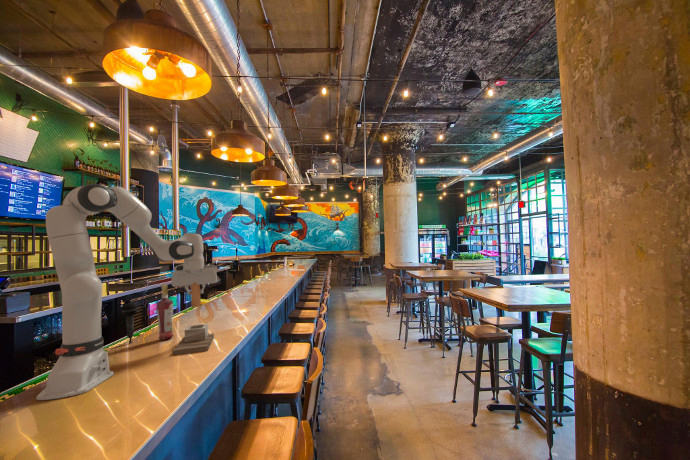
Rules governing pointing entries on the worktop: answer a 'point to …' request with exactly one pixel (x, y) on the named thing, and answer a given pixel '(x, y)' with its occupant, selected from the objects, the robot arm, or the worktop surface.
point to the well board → (194, 340)
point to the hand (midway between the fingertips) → (195, 294)
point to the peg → (195, 295)
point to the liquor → (165, 315)
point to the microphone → (129, 318)
